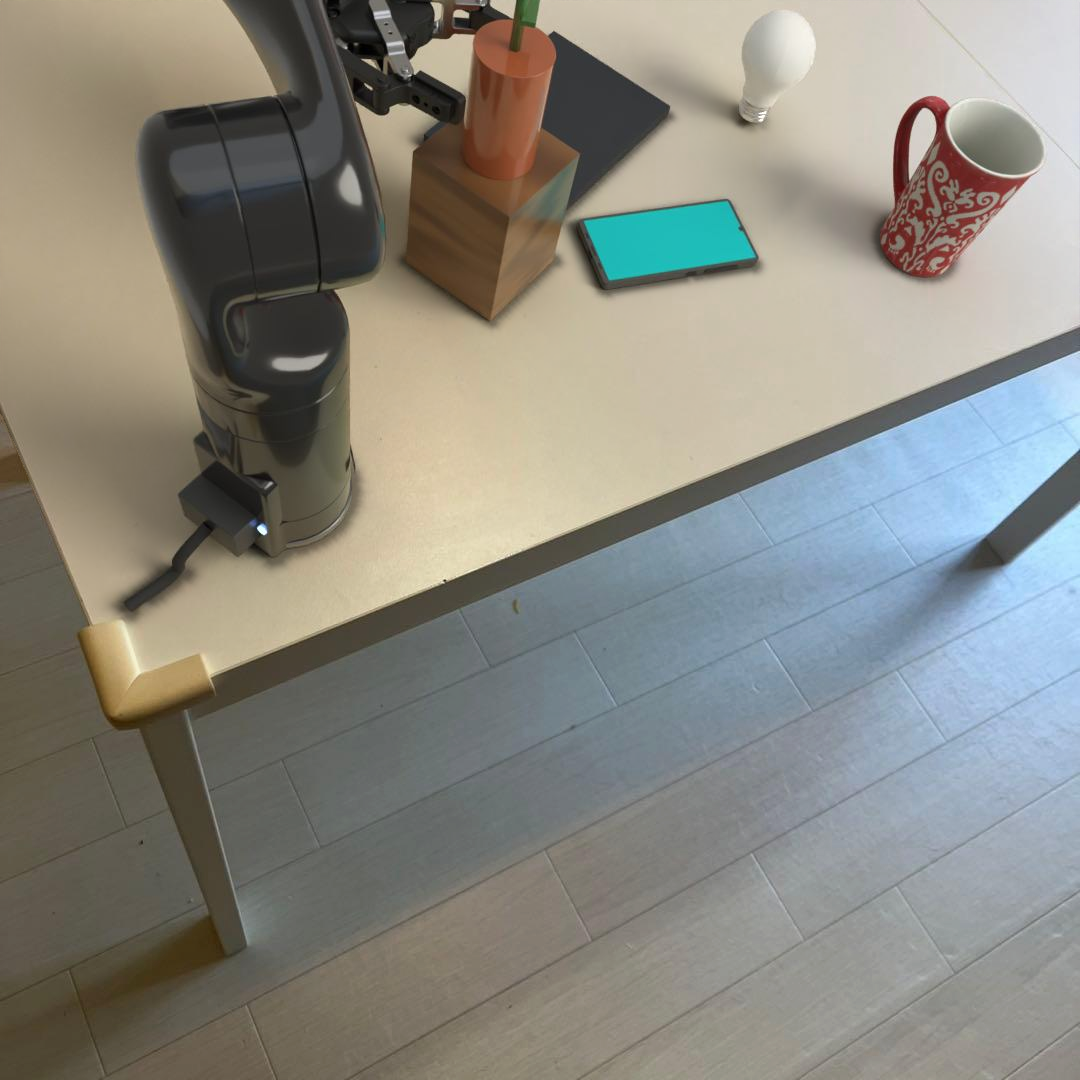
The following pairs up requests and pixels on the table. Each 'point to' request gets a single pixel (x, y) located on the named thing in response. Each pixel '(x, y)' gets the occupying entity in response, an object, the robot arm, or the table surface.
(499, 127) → the flower pot
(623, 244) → the smartphone
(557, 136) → the placemat
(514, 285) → the wooden block
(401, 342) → the table surface
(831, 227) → the table surface
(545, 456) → the table surface
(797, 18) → the light bulb
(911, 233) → the mug
